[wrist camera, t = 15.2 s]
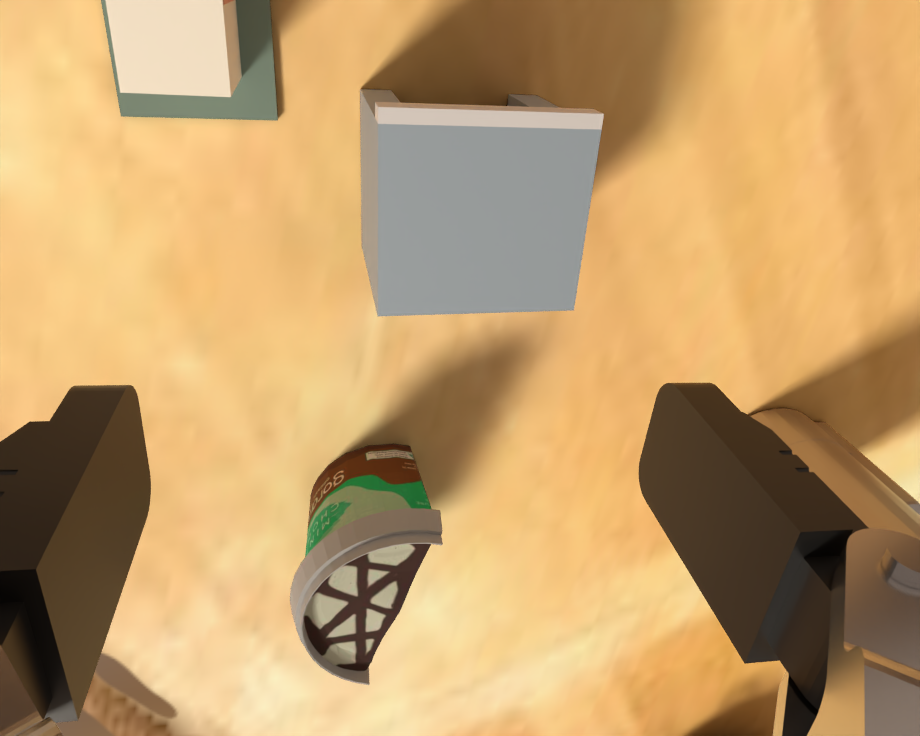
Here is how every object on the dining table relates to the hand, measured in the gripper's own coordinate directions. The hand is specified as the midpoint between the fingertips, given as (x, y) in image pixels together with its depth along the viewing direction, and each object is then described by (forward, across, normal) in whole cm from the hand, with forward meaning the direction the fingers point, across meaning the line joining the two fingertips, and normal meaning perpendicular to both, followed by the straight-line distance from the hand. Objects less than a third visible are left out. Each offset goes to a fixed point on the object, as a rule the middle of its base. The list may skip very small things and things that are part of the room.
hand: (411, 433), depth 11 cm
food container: (+28, 0, +24) cm, 36 cm away
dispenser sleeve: (+28, -5, +2) cm, 28 cm away
